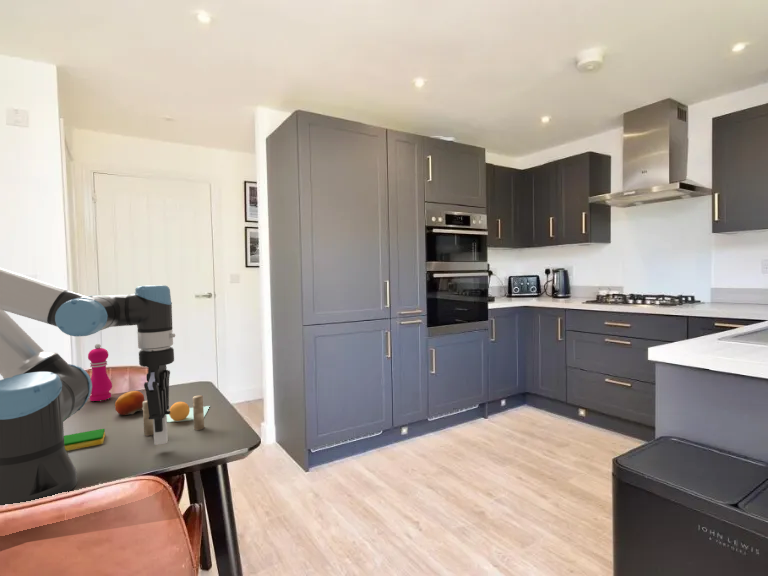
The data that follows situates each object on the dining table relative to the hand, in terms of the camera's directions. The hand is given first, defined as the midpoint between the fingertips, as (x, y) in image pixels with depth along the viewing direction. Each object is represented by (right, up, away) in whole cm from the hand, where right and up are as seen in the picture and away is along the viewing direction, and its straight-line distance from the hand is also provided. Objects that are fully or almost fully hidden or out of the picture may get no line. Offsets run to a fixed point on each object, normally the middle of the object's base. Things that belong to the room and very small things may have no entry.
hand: (161, 442), depth 101 cm
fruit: (-26, -2, +30) cm, 39 cm away
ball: (-6, +1, +21) cm, 22 cm away
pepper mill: (-46, -2, +45) cm, 65 cm away
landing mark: (-6, -1, +26) cm, 27 cm away
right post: (+3, -1, +14) cm, 15 cm away
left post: (-9, -2, +11) cm, 15 cm away
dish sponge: (-26, -3, +5) cm, 27 cm away
